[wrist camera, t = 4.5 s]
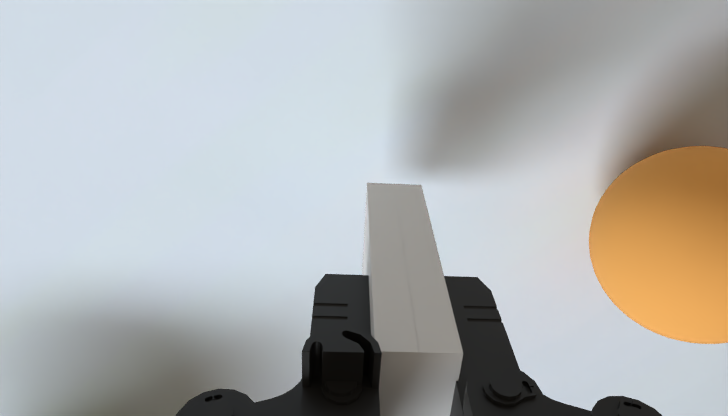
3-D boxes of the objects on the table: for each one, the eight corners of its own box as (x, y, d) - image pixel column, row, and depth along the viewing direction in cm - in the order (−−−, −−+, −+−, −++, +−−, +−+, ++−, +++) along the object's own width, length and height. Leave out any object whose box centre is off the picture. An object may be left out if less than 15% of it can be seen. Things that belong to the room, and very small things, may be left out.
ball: (700, 271, 19) (817, 391, 14) (547, 265, 19) (613, 385, 14) (763, 122, 17) (930, 207, 12) (585, 114, 16) (682, 197, 12)
